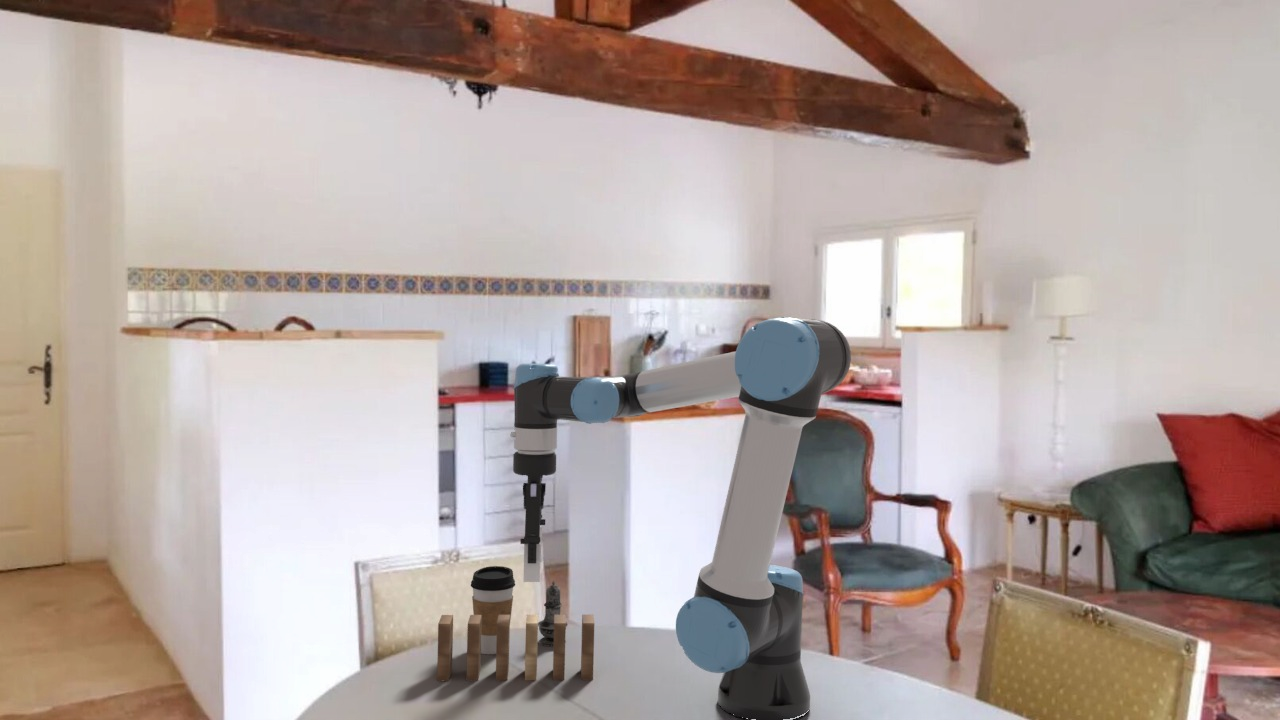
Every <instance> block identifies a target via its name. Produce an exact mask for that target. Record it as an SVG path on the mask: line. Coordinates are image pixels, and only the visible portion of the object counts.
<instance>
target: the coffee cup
mask: <svg viewBox="0 0 1280 720" xmlns="http://www.w3.org/2000/svg"><path fill="white" fill-rule="evenodd" d="M515 582H516V581H515V579H514V571H513V569H512V568H510V567H507V566H501V565H491V566H485V567H481V568H480V569H478V570H476V571H474V572H473V575H472V580H471V581H470V587H471V588H472V597H471V598H472V609H473V610H472V611H473V612H472V613H473V615H482V622H481V655H482V654H483V655H496V643H497V621H498V616H499V615H510V621H511V620H512V611H513V602H514V595H513V591H514V587H515V586H516V583H515Z"/></svg>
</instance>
